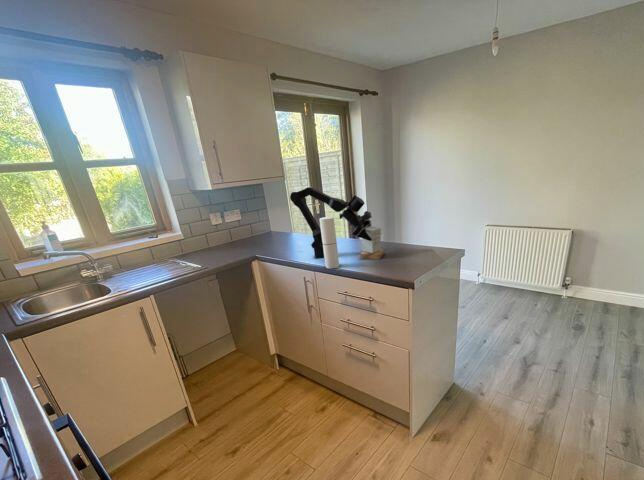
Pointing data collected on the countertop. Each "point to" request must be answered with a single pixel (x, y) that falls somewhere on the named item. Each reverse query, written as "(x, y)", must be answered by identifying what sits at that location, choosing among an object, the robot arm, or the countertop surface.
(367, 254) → the tan flat block
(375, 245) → the white packaging box
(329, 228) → the cylindrical container
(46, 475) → the countertop surface
